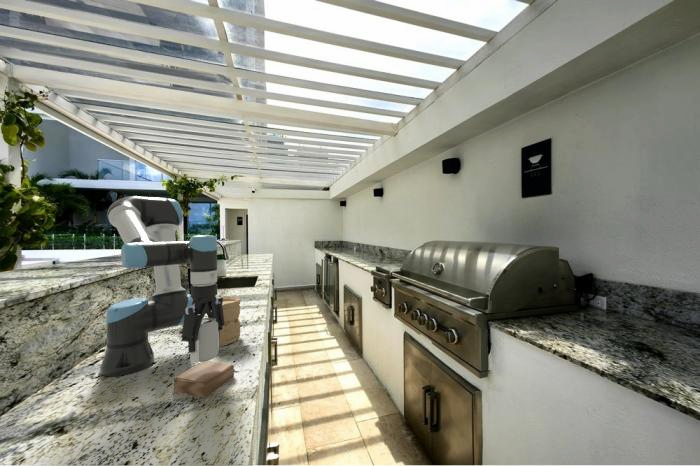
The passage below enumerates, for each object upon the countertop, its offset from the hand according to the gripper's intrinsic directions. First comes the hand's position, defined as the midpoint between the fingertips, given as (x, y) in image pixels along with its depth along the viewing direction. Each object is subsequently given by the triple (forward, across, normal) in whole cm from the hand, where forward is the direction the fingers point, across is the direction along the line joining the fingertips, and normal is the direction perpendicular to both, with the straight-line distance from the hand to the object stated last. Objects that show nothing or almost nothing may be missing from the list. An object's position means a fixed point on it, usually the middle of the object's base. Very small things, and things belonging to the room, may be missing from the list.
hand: (205, 355), depth 87 cm
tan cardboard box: (+9, 0, 0) cm, 9 cm away
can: (+1, 0, 0) cm, 1 cm away
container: (+9, +30, +18) cm, 36 cm away
